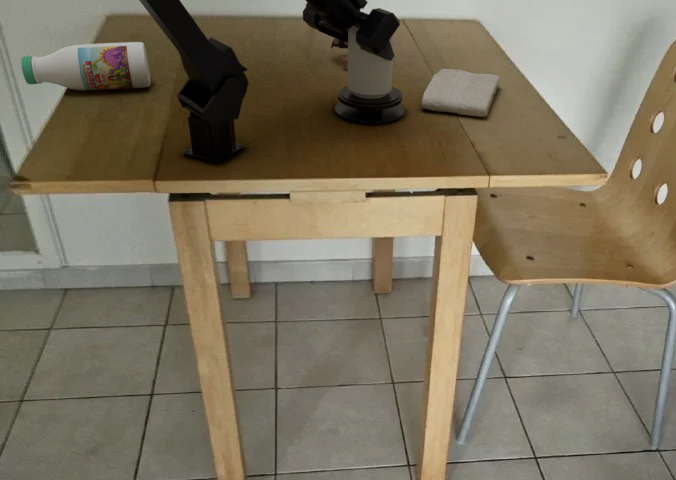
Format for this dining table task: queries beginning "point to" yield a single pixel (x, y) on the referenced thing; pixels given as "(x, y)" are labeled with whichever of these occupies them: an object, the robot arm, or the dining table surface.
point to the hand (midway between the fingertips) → (377, 52)
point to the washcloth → (460, 92)
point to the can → (367, 70)
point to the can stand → (369, 108)
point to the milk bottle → (91, 67)
